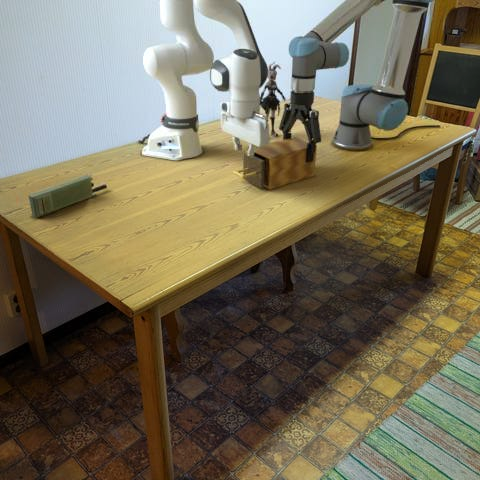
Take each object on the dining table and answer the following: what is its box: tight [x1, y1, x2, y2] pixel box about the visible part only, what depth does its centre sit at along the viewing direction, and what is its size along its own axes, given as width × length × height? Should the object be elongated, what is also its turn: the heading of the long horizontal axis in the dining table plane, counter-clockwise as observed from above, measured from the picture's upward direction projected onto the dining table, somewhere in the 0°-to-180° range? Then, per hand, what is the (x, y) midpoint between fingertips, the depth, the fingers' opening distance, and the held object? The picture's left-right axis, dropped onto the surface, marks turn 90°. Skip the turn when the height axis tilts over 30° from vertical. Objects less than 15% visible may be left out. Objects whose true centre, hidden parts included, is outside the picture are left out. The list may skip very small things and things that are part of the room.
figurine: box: [260, 61, 287, 137], centre depth 201 cm, size 15×6×30 cm, turn 132°
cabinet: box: [254, 136, 318, 190], centre depth 168 cm, size 20×11×11 cm, turn 127°
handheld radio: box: [28, 173, 108, 219], centre depth 150 cm, size 7×3×25 cm
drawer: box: [232, 151, 269, 189], centre depth 165 cm, size 24×9×9 cm, turn 127°
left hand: (244, 152), depth 156 cm, fingers open, 5 cm apart
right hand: (297, 156), depth 171 cm, fingers closed on cabinet, 11 cm apart
